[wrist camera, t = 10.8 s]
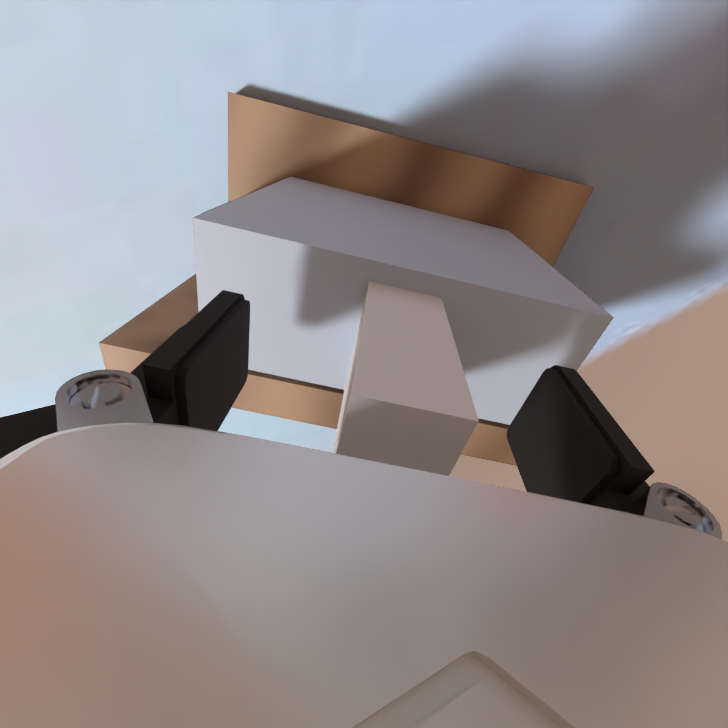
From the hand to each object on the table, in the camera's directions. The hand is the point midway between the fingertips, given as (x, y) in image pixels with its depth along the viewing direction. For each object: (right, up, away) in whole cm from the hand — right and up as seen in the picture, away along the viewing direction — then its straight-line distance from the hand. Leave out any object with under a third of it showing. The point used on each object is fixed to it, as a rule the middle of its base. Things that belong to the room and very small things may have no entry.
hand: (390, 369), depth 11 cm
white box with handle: (+1, +8, +12) cm, 15 cm away
